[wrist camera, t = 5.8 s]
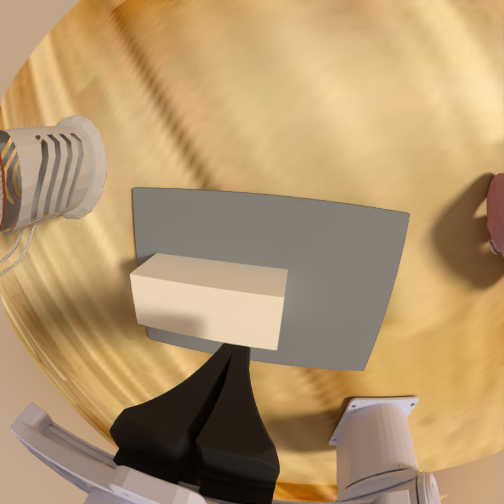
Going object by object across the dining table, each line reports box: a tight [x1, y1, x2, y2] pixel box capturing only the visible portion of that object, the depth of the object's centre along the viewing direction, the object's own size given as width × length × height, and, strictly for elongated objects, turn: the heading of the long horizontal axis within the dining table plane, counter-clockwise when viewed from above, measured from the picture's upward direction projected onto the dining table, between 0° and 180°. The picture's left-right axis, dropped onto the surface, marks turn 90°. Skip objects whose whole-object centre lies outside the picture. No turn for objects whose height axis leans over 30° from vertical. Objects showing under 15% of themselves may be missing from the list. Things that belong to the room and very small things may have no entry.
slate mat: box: [133, 187, 410, 371], centre depth 20 cm, size 14×20×1 cm
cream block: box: [130, 253, 288, 350], centre depth 19 cm, size 4×4×10 cm
